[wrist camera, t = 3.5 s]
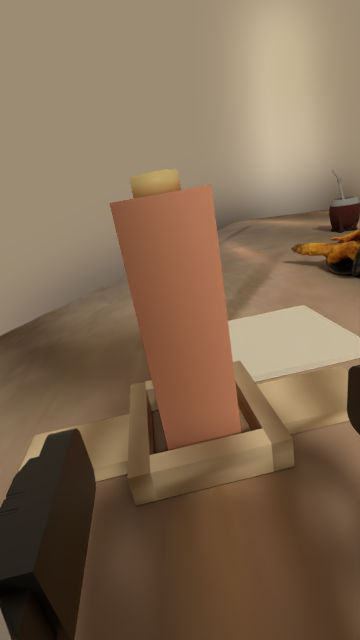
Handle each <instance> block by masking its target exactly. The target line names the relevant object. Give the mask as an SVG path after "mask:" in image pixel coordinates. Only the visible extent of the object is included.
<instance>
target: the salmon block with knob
mask: <svg viewBox="0 0 360 640" xmlns="http://www.w3.org/2000/svg"><path fill="white" fill-rule="evenodd" d="M130 183H131V188H132V193H133V197H134V199H130V200H124V201H119V202H113V203H110V207H111V211H112V215H113V219H114V224H115V228H116V232H117V236H118V240H119V245H120V249H121V253H122V257H123V261H124V266H125V270H126V274H127V278H128V282H129V287H130V291H131V295H132V299H133V304H134V308H135V312H136V316H137V320H138V325H139V329H140V333H141V337H142V341H143V346H144V350H145V354H146V358H147V362H148V367H149V371H150V375H151V379H152V383H153V388H154V392H155V396H156V400H157V404H158V409H159V413H160V417H161V421H162V425H163V430H164V434H165V438H166V442H167V446H168V451H169V450H174V449H178V448H182V447H186V446H190V445H195V444H199V443H203V442H207V441H212V440H216V439H220V438H224V437H228V436H233V435H237V434H241V425H240V416H239V408H238V400H237V392H236V384H235V375H234V367H233V359H232V351H231V343H230V334H229V326H228V318H227V310H226V301H225V293H224V285H223V277H222V269H221V260H220V252H219V244H218V236H217V228H216V221H215V211H214V204H213V195H212V188H211V185H207V186H202V187H196V188H191V189H185V190H181V187H180V181H179V175H178V169H168V170H161V171H154V172H149V173H145V174H140V175H136V176H133V177H131V178H130Z"/></svg>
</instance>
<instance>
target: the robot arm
mask: <svg viewBox="0 0 360 640" xmlns="http://www.w3.org/2000/svg"><path fill="white" fill-rule="evenodd" d="M347 414H348V418H349V420H350V422H351V424H352V426H353V428H354V429H355V430H356V431H357V432H358V433H359V434H360V365H357V366H353V367H351V368H350V369H349V372H348V391H347ZM95 491H96V481H95V474H94V469H93V466H92V463H91V461H90V458H89V455H88V452H87V450H86V447H85V444H84V441H83V439H82V436H81V433H80V431H79V430H78V429H77V428H75V429H70V430H66V431H61V432H57V433H53V434H49V435H48V436H47V437H46V439H45V442H44V444H43V447H42V450H41V452H40V455H39V457H34V458H30V459H29V460H28V461H27V463H26V464H25V465H24V466H23V467H22V468H21V470H20V471H19V472H18V473H17V474H16V476H15V477H14V479H13V481H12V484H11V486H10V488H9V490H8V492H7V495H6V500H4V501H3V504H2V506H1V508H0V640H74V637H75V630H76V623H77V616H78V610H79V603H80V596H81V589H82V582H83V575H84V568H85V561H86V554H87V547H88V540H89V533H90V526H91V519H92V513H93V506H94V499H95Z"/></svg>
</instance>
